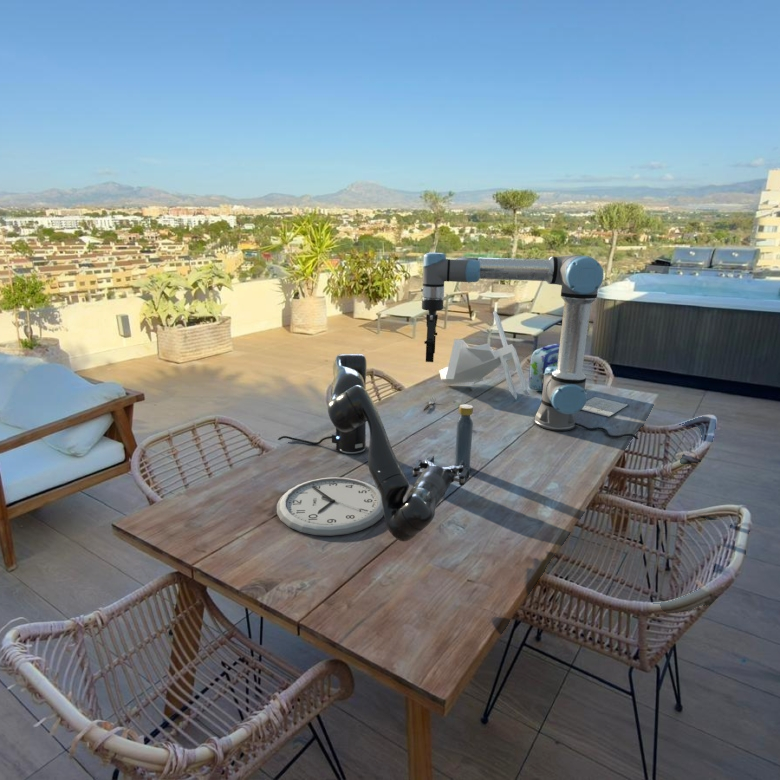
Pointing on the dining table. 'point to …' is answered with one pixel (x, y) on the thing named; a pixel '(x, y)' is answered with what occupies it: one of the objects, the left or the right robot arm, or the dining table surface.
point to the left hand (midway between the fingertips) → (447, 461)
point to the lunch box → (542, 365)
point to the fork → (430, 403)
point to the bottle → (464, 440)
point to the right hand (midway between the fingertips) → (430, 357)
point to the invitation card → (603, 406)
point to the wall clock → (330, 506)
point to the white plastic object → (482, 362)
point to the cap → (466, 409)
